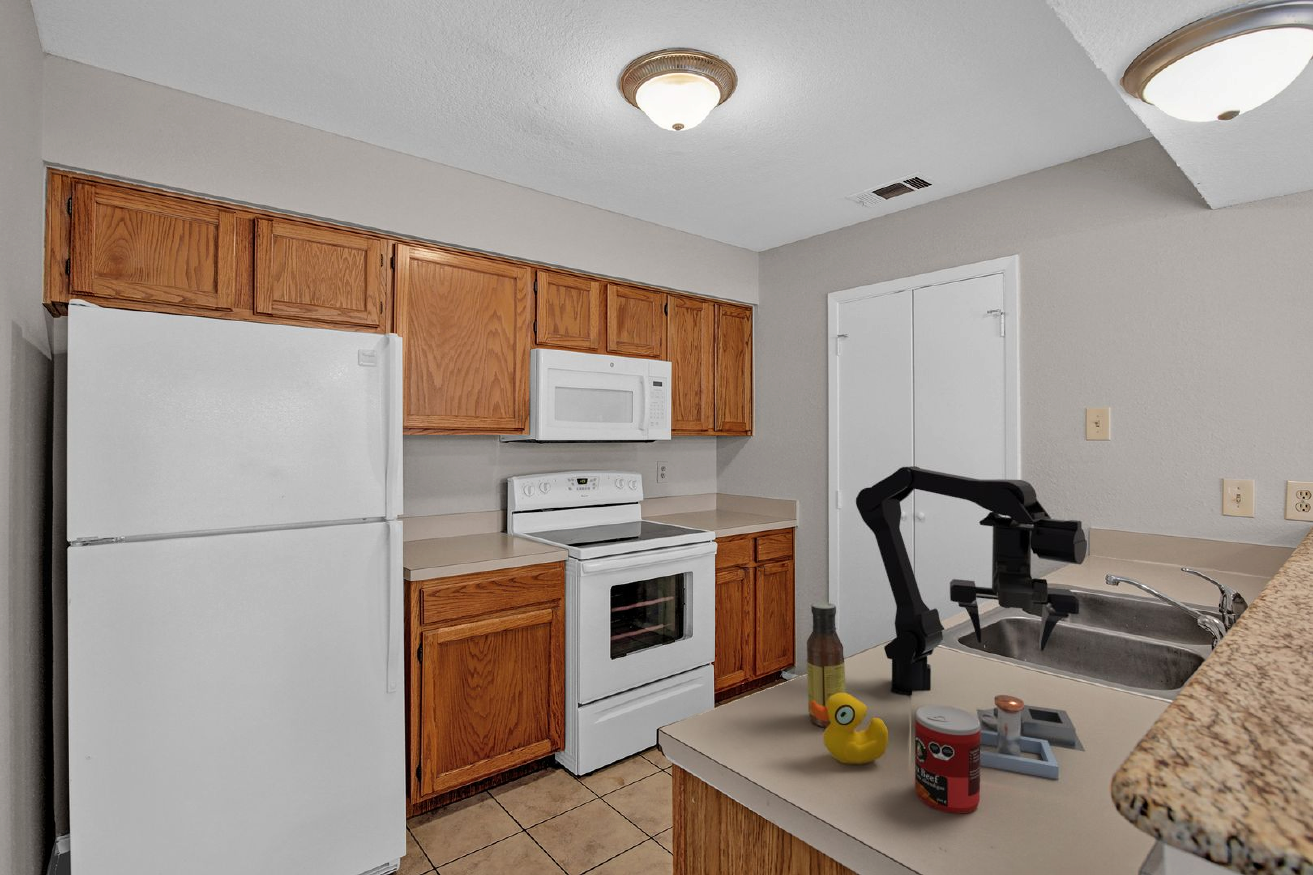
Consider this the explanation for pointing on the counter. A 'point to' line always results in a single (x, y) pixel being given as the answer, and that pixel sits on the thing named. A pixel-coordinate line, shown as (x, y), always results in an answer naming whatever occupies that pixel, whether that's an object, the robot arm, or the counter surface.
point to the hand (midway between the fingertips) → (1010, 646)
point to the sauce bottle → (824, 659)
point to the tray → (1018, 763)
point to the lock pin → (1009, 724)
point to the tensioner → (1038, 725)
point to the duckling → (850, 730)
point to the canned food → (947, 758)
